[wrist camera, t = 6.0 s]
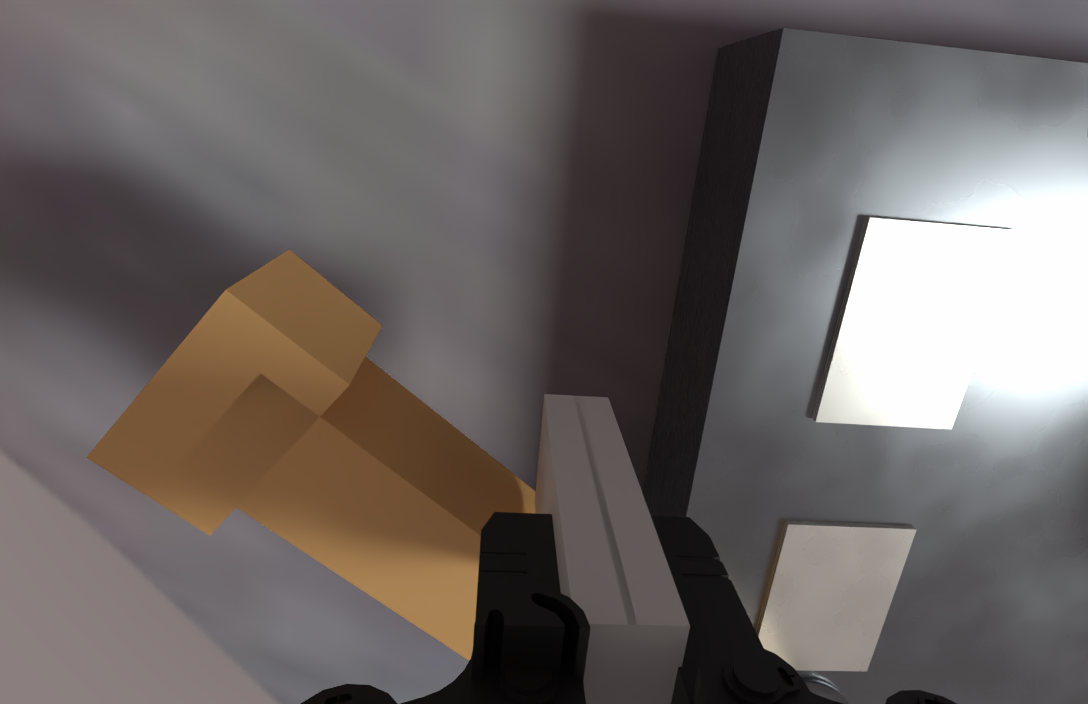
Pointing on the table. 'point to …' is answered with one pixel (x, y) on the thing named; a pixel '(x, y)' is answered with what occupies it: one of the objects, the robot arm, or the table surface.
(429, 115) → the table surface
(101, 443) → the bar
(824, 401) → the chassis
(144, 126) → the table surface
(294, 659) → the table surface
